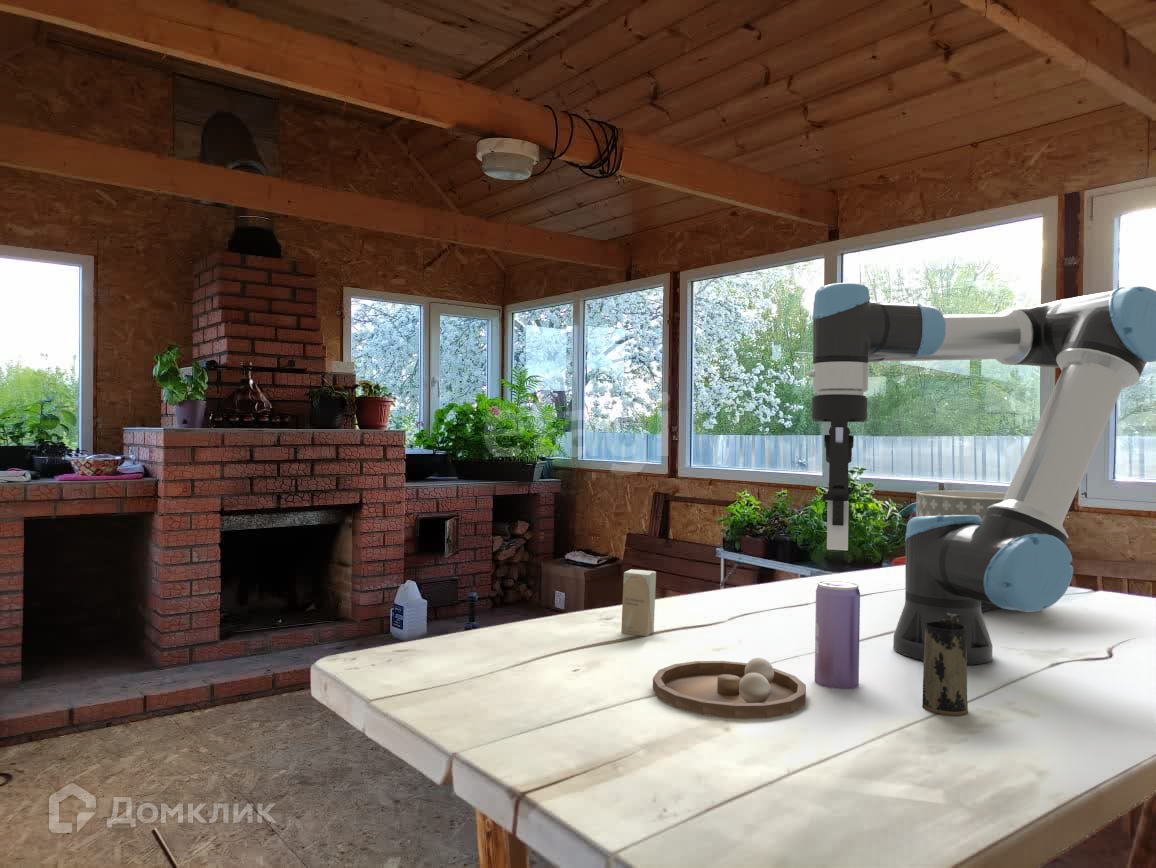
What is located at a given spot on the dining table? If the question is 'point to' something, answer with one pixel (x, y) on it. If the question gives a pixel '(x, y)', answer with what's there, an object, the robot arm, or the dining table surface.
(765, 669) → the bead
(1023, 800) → the dining table surface
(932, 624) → the mug
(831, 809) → the dining table surface
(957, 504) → the planter
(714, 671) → the tray
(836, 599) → the beverage can
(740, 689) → the bead
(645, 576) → the box
